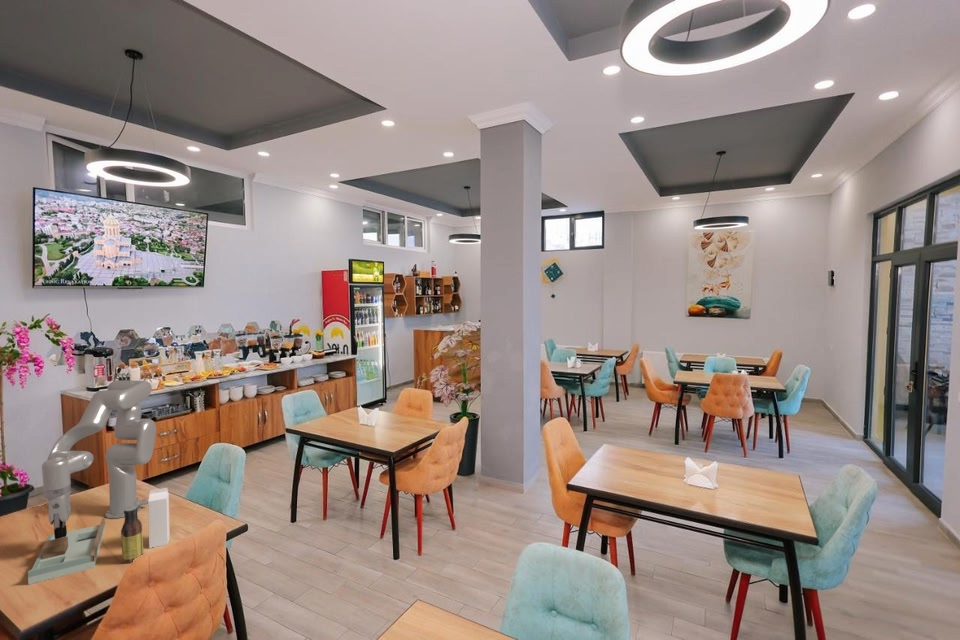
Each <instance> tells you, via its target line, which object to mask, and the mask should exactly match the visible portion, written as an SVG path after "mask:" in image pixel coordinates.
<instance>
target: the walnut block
mask: <svg viewBox="0 0 960 640" xmlns="http://www.w3.org/2000/svg"><path fill="white" fill-rule="evenodd" d="M67 548H68V536H67V537H63V538H58V539H54V540H49V541H45V542H44V544H43V546H42V547H41V550H42V559H47V558H51V557H55V556H59V555H64V554H65V553H66V550H67Z"/></svg>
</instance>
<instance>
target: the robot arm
mask: <svg viewBox="0 0 960 640" xmlns="http://www.w3.org/2000/svg"><path fill="white" fill-rule="evenodd" d="M152 390H153V388H152V385H151V383H150V382H148V381H146V380H129V379H128V380H127V379H126V380H125V379H124V380H114V381H112V382H110V383H109V384H108V385H107V389H104V390H99V391H97V392H95V393H94V394H93V395H92V397H91V399H90V401H89V403H88V405H87V407H86V408H85V411H84V412H83V414H82V415H81V418H80V420H79V422H78V423H77V424H76V425H75V426H73V427H71V428H70V429H69V430H67V431H65V433H64V434H63V435H61V436H60V437H59V439H57V441H56V442H55V443H54V445H53V447H52V448H51V450H50V452H49V454H48V455H47V456H48V457H47V459H46V460H45V461H44V462H43V463H42V465H41V472H42V473H41V474H42V485H43V486H42V487H43V488H42V489H43V498H44V499H45V500H47V505H48V507H47V509H48V522H49V525H50V526H52V525H53V532H54V533H53V535H54V536H55V539H58V538H62V537H66V535H67V532H68V530H67V521H69V518H70V516H71V513H72V508H71V507H72V506H71V499H70V494H71V493H72V481H71V474H75V473H76V472H81V471H83V470H86V469H88V468H89V467H90V466H91V465H92V464H93V462H94V458H95V457H94V454H93V453H91V452H90V451H88V450H87V451H86V450H71V449H72V447H73V446H74V445H75V444H76V443H77V442H79V441H80V440H82V439H84V438H86V437H88V436H91V435H93V434H96V433H99V432H101V431H102V430H103V429H104V428H105V427H106V424H107V422H108V420H109V418H110V416H111V414H112V412H113V411H117V414H116V418H115V419H116V420H115V425H114V430H113V431H114V432H113V435H114V438H115V439H117V440H120V441H121V440H123V441H136V442H119V443H118V442H117V443H115V444H112V445H111V446H110V447H108V449H107V450H106V452H105V461H106V465H107V470H108V482H109V484H108V485H109V509H108V510H107V511H106V512H105V518H108V519H120V518H125V514H124V509H125V508H127V507H130V506H137V507H138V511H137V513H138V512H139V511H140V510H141V508H142V506H144V505H148V500H149V499H146V498H144V499H139V497H137V471H136V470H137V469H136V468H135V466H141V465H142V466H143V465H145V464H147V463H149V462H150V460H151V459H152V457H153V453H154V449H155V441H156V438H157V437H156V436H157V435H156V434H157V426H156V425H157V424H156V422H155V421H154V420H152V419H150V418H141V413H142V412H141V411H142V406H141V403H142V401H145V400H146V399H147V398H149V397H150V395H151V393H152Z"/></svg>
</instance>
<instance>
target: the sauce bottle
mask: <svg viewBox="0 0 960 640" xmlns="http://www.w3.org/2000/svg"><path fill="white" fill-rule="evenodd" d="M137 511H138V507H137V506H130V507H127V508H125V509H124V514H125V517H124V522H123V525H122V527H121V531H120V538H121V541H120V542H121V556H122V558H121V559H122V561H123V563H125V564H128V563H129V564H130V563H133V562H132V561H133V560H134V559H135V558H137V557H139V556H141V555H143V556H144V535H143V524H142V521H141V520H140V519H139V518H138V517H139V516H138V512H139V511H138V512H137Z"/></svg>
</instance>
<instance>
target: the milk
mask: <svg viewBox="0 0 960 640" xmlns="http://www.w3.org/2000/svg"><path fill="white" fill-rule="evenodd" d="M169 496H170V494H169V490H168V487H163V488H158V489H151V490H149V493H148V499H147V500H148V504H147V505H148V506H147V507H148V548H149V549H153V548H152V547H154V548H158V547H162V546H167V545H169V541H170V535H171V534H170V501H169V500H170V497H169Z"/></svg>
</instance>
